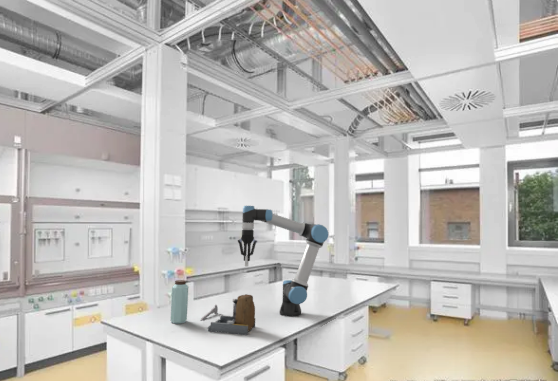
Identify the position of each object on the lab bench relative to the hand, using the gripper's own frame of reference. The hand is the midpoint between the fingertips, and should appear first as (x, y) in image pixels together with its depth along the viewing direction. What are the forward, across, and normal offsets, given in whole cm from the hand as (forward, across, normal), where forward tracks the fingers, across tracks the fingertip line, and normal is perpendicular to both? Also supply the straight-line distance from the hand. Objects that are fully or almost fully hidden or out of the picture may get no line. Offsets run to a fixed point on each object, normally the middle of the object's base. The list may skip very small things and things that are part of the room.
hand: (246, 266), depth 236 cm
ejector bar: (+34, 0, +19) cm, 39 cm away
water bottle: (+35, +38, +15) cm, 54 cm away
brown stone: (+35, -6, +19) cm, 40 cm away
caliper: (+35, +25, -2) cm, 43 cm away
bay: (+34, +1, +19) cm, 39 cm away
